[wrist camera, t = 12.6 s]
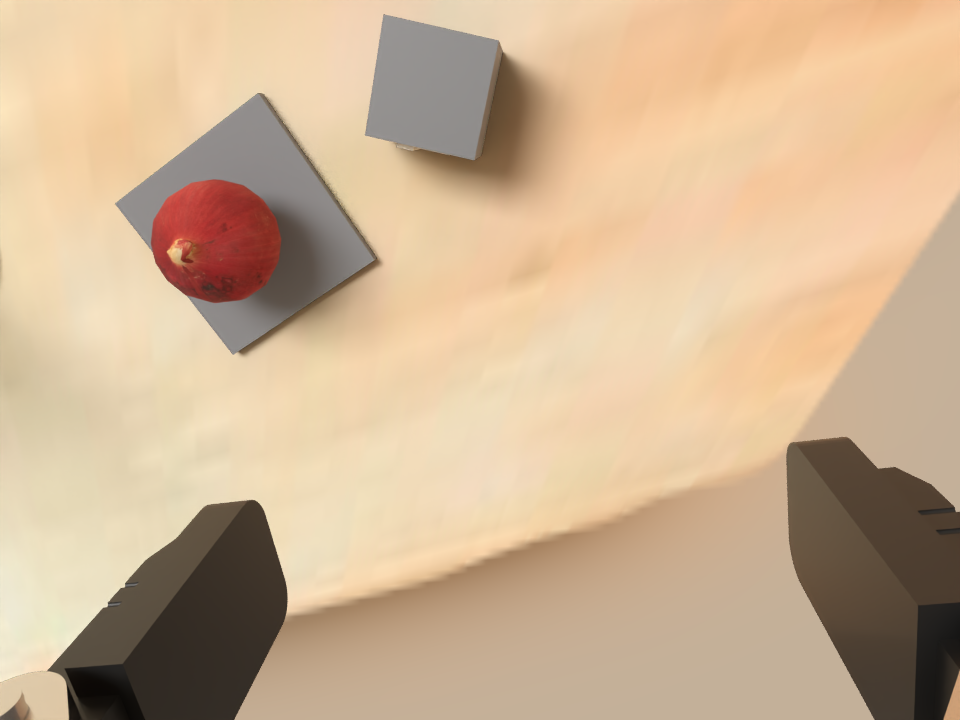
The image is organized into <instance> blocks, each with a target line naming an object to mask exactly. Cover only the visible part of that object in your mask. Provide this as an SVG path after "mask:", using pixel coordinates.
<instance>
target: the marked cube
mask: <svg viewBox="0 0 960 720" xmlns="http://www.w3.org/2000/svg"><path fill="white" fill-rule="evenodd" d="M502 54H503V51H502V48H501V45H500V43H499V41H498V40H494V39H489V38H485V37H481V36H476V35H472V34H467V33H463V32H459V31H454V30H450V29H446V28H441V27H437V26H432V25H428V24H424V23H419V22H415V21H411V20H406V19H402V18H397V17H393V16H389V15H383V22H382V28H381V35H380V41H379V48H378V54H377V61H376V67H375V74H374V80H373V87H372V94H371V100H370V107H369V113H368V120H367V126H366V133H365V136H370V137H374V138H378V139H383V140H387V141H392V142H396V143H397V145H396V147H398V148H403V149H407V150H412V151H415V150H419V149H423V150H427V151H432V152H436V153H441V154H445V155H453V156H458V157H462V158H466V159H471V160H476V159H477V158H478V157H480V156H481V155H482V150H483V145H484V140H485V136H486V131H487V126H488V121H489V116H490V112H491V107H492V102H493V97H494V92H495V87H496V83H497V78H498V73H499V68H500V63H501V58H502Z"/></svg>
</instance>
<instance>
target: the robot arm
mask: <svg viewBox="0 0 960 720" xmlns="http://www.w3.org/2000/svg"><path fill="white" fill-rule="evenodd" d="M787 491H788V522H789V542H790V550H791V555H792V560H793V564H794V567H795V570H796V573H797V576H798V579H799V581H800V583H801V585H802V587H803V589H804V591H805V593H806V594H807V596H808V598H809V600H810V602H811V603H812V605H813V607H814V609H815V611H816V613H817V615H818V616H819V618H820V620H821V622H822V624H823V626H824V627H825V629H826V631H827V633H828V635H829V636H830V638H831V640H832V642H833V644H834V646H835V648H836V649H837V651H838V653H839V655H840V657H841V659H842V661H843V662H844V664H845V666H846V668H847V670H848V671H849V673H850V675H851V677H852V679H853V681H854V683H855V684H856V686H857V688H858V690H859V691H860V694H861V696H862V697H863V699H864V701H865V703H866V705H867V707H868V708H869V710H870V712H871V714H872V716H873V718H874V719H875V720H960V512H956V511H955V507H954V506H953V505H952V504H951V503H950V502H949V501H948V500H947V499H945V497H944V496H943V495H941V494H940V493H939V492H938V491H937V490H936V489H935V488H934V487H933V486H932V485H931V484H929V483H927V482H925V481H923V480H921V479H919V478H917V477H914V476H912V475H910V474H908V473H906V472H904V471H902V470H900V469H898V468H896V467H893V468H882V469H878V468H877V467H876V466H875V465H874V464H873V463H872V462H871V461H870V460H869V459H868V458H867V457H866V456H865V454H864V453H863V452H862V451H861V450H860V449H859V448H858V447H857V446H856V445H855V444H854V443H853V442H852V441H851V440H850V439H849V438H847V437H839V438H830V439H821V440H812V441H803V442H793V443H790V444H789V446H788V449H787ZM286 611H287V587H286V582H285V578H284V575H283V572H282V568H281V565H280V562H279V558H278V555H277V552H276V548H275V545H274V542H273V539H272V535H271V532H270V529H269V525H268V522H267V519H266V515H265V513H264V510H263V508H262V507H261V505H260V504H259V503H258V502H257V501H255V500H247V501H238V502H229V503H220V504H211V505H207V506H205V507H204V508H203V509H202V510H201V511H200V512H199V513H198V514H197V515H196V516H195V518H194V519H193V520H192V521H191V522H190V523H189V525H188V526H187V527H186V528H185V529H184V530H183V532H182V533H181V534H180V535H179V536H178V537H177V538H176V539H175V540H174V541H172V542H171V543H169V544H168V545H167V546H165V547H164V548H162V549H161V550H160V551H158V552H157V553H155V554H154V555H152V556H151V557H150V558H148V559H147V560H145V562H144V563H143V564H142V565H141V566H140V567H139V568H138V569H137V571H136V572H135V573H134V574H133V575H132V576H131V577H130V578H129V580H128V581H127V582H126V583H125V588H121V589H120V590H119V591H118V592H117V593H116V594H115V595H114V596H113V598H112V599H111V600H110V601H109V602H108V607H106V608H103V609H102V610H101V611H100V612H99V613H98V614H97V615H96V617H95V618H94V619H93V620H92V621H91V622H90V623H89V624H88V626H87V627H86V628H85V629H84V630H83V631H82V632H81V633H80V635H79V636H78V637H77V638H76V639H75V640H74V641H73V642H72V644H71V645H70V646H69V647H68V648H67V649H66V650H65V651H64V653H63V654H62V655H61V656H60V657H59V658H58V659H57V660H56V662H55V663H54V664H53V665H52V666H51V667H50V668H49V669H48V671H40V672H32V673H27V674H23V675H20V676H17V677H13V678H11V679H8V680H6V681H3V682H1V683H0V720H234V719H235V717H236V715H237V713H238V711H239V709H240V707H241V705H242V703H243V701H244V699H245V697H246V695H247V693H248V691H249V689H250V687H251V686H252V684H253V681H254V679H255V678H256V676H257V674H258V672H259V670H260V668H261V666H262V664H263V662H264V660H265V658H266V656H267V654H268V652H269V650H270V648H271V646H272V644H273V642H274V641H275V639H276V637H277V635H278V633H279V630H280V629H281V627H282V625H283V622H284V619H285V616H286Z"/></svg>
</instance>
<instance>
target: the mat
mask: <svg viewBox="0 0 960 720" xmlns="http://www.w3.org/2000/svg"><path fill="white" fill-rule="evenodd" d="M213 179H216V180H224V181H228V182H233V183H237V184H241V185H244V186H245V187H247V188H248V189H250V190H251V191H252V192H254V193H255V194H256V195H258V196H259V197H260V198H262V199H263V200H264V202H265V203H266V205H267V206H268V207H269V209H270V210H271V212H272V213H273V215H274V216H275V218H276V220H277V224H278V228H279V232H280V236H281V246H280V254H279V261H278V264H277V266H276V268H275V269H274V271H273V273H272V275H271V277H270V279H269V280H268V282H267V284H266V285H265V286H264V287H262V288H261V289H259V290H258V291H256V292H255V293H253V294H252V295H250V296H249V297H247V298H246V299H242V300H239V301H230V302H221V303H211V302H208V301H204V300H201V299H197V298H194V297H190V296H187V297H188V298H189V299H190V300H191V302H192V303H193V304H194V306H195V307H196V308H197V309H198V311H199V312H200V313H201V314H202V316H203V317H204V318H205V320H206V321H207V322H208V323H209V325H210V326H211V327H212V329H213V330H214V331H215V332H216V334H217V335H218V336H219V338H220V339H221V340H222V341H223V343H224V344H225V345H226V346H227V348H228V349H229V350H230V352H231V353H232V354H233V355H234V354H235V353H237V352H238V351H240V350H241V349H243V348H244V347H246V346H247V345H249V344H250V343H252V342H253V341H254V340H256V339H257V338H259V337H260V336H262V335H263V334H265V333H266V332H268V331H269V330H271V329H272V328H274V327H275V326H277V325H278V324H280V323H281V322H283V321H284V320H286V319H287V318H289V317H290V316H292V315H293V314H295V313H296V312H298V311H299V310H301V309H302V308H304V307H305V306H307V305H308V304H310V303H311V302H313V301H314V300H316V299H317V298H319V297H320V296H322V295H323V294H325V293H326V292H328V291H329V290H331V289H332V288H334V287H335V286H337V285H338V284H340V283H341V282H343V281H344V280H346V279H347V278H349V277H350V276H352V275H353V274H355V273H356V272H358V271H359V270H361V269H362V268H364V267H365V266H367V265H368V264H370V263H371V262H373V261H374V260H375V259H376V256H375V255H374V253H373V252H372V251H371V249H370V248H369V246H368V245H367V243H366V242H365V240H364V239H363V238H362V236H361V235H360V233H359V232H358V230H357V229H356V227H355V226H354V225H353V223H352V222H351V220H350V219H349V217H348V216H347V215H346V213H345V212H344V210H343V209H342V207H341V206H340V204H339V203H338V202H337V200H336V199H335V197H334V196H333V194H332V193H331V191H330V190H329V189H328V187H327V186H326V184H325V183H324V181H323V180H322V179H321V177H320V176H319V174H318V173H317V171H316V170H315V168H314V167H313V166H312V164H311V163H310V161H309V160H308V158H307V157H306V156H305V154H304V153H303V151H302V150H301V148H300V147H299V145H298V144H297V143H296V141H295V140H294V138H293V137H292V135H291V134H290V132H289V131H288V130H287V128H286V127H285V125H284V124H283V122H282V121H281V120H280V118H279V117H278V115H277V114H276V112H275V111H274V109H273V108H272V107H271V105H270V104H269V102H268V101H267V99H266V98H265V97H264V95H263V94H262V93H258V94H256V95H255V96H254V97H252V98H251V99H250V100H248V101H247V102H246V103H245V104H243V105H242V106H241V107H239V108H238V109H237V110H235V111H234V112H233V113H232V114H230V115H229V116H228V117H226V118H225V119H224V120H223V121H221V122H220V123H219V124H217V125H216V126H215V127H213V128H212V129H211V130H210V131H208V132H207V133H206V134H204V135H203V136H202V137H201V138H199V139H198V140H197V141H195V142H194V143H193V144H191V145H190V146H189V147H188V148H186V149H185V150H184V151H182V152H181V153H180V154H179V155H177V156H176V157H175V158H173V159H172V160H171V161H169V162H168V163H167V164H166V165H164V166H163V167H162V168H160V169H159V170H158V171H156V172H155V173H154V174H153V175H151V176H150V177H149V178H147V179H146V180H145V181H144V182H142V183H141V184H140V185H138V186H137V187H136V188H134V189H133V190H132V191H131V192H129V193H128V194H127V195H125V196H124V197H123V198H122V199H120V200H119V201H118V202H116V203H115V204H116V206H117V207H118V208H119V209H120V211H121V212H122V213H123V215H124V216H125V217H126V218H127V220H128V221H129V222H130V224H131V225H132V226H133V227H134V229H135V230H136V231H137V233H138V234H139V235H140V236H141V238H142V239H143V240H144V241H145V243H146V244H147V245H148V247H149V248H150V249H151V250H152V247H151V236H152V227H153V220H154V218H155V217H156V215H157V213H158V212H159V210H160V208H161V207H162V205H163V204H164V202H165V200H166V199H167V198H168V197H169V196H171V195H173V194H174V193H176V192H177V191H179V190H181V189H182V188H184V187H185V186H187V185H189V184H190V183H193V182H199V181H206V180H213ZM152 252H153V250H152Z"/></svg>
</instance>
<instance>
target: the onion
mask: <svg viewBox="0 0 960 720" xmlns="http://www.w3.org/2000/svg"><path fill="white" fill-rule="evenodd" d="M280 246H281V236H280V232H279V228H278V224H277V220H276V218H275V216H274V215H273V213H272V212H271V210H270V209H269V207H268V206H267V205H266V203H265V202H264V200H263V199H262V198H260V197H259V196H258V195H256V194H255V193H254V192H252V191H251V190H250V189H248V188H247V187H245V186H244V185H241V184H237V183H233V182H228V181H224V180H216V179H213V180H206V181H199V182H193V183H190V184H189V185H187V186H185V187H184V188H182V189H181V190H179V191H177V192H176V193H174V194H173V195H171V196H169V197H168V198H167V199H166V200H165V202H164V204H163V205H162V207H161V208H160V210H159V212H158V213H157V215H156V217H155V218H154V220H153V227H152V236H151V247H152V250H153V254H154V258H155V262H156V264H157V266H158V267H159V269H160V270H161V272H162V273H163V275H164V276H165V278H166V279H167V280H168V281H169V282H170V283H171V284H172V285H174V286H175V287H176V288H177V289H179V290H180V291H181V292H182V293H184V294H185V295H187V296H190V297H194V298H197V299H201V300H204V301H208V302H211V303H221V302H230V301H239V300H242V299H246V298H247V297H249V296H250V295H252V294H253V293H255V292H256V291H258V290H259V289H261V288H262V287H264V286H265V285H266V284H267V282H268V280H269V279H270V277H271V275H272V273H273V271H274V269H275V268H276V266H277V264H278V261H279V254H280Z"/></svg>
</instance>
